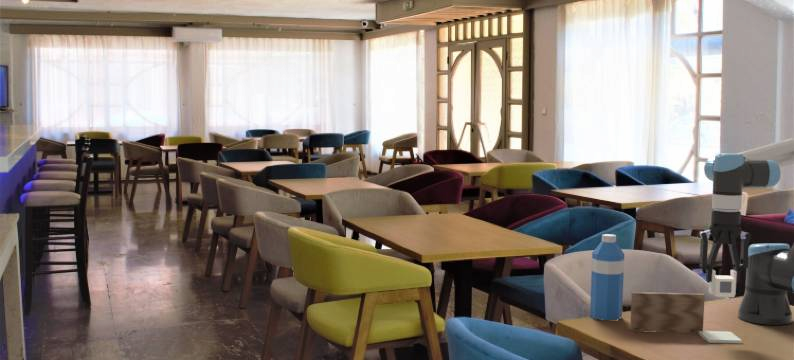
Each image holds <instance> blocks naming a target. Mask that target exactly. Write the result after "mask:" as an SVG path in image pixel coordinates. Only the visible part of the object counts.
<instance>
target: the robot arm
mask: <svg viewBox="0 0 794 360" xmlns="http://www.w3.org/2000/svg"><path fill="white" fill-rule="evenodd" d="M792 165H794V137H791V138H788V139H783V140H780V141H777V142H772V143H770V144H765V145H762V146H758V147H755V148H751V149H747V150H744V151H741V152H737V153H736V152H732V153H731V152H728V153H727V152H719V153H717V154H715V156H711V157H708V159H707V160H706V161H705V163H704V167H703V169H704V171H703V172H704V175H705V177H706V178H707V179H708V180H709V181H712V199H711V201H712V202H711V208H713V209H712V210H711V217H710V218H711V219H710V226H709V228H708V230H704V231H702V230H701V231H699V233H698V235H699V238H700V247H699V248H700V249H699V267H701V268H703V269H705V270H706V271H705V281H706V282H708V293H709V294H710V295H712V296H714V293H715V275H717V274H716V270H714V266H715V264H716V262H717V261H716V260H717V257H718V254H719V251H720V248H721V247H722V245H724V244H727V245H728V249H729V253H730V257H731V258H730V259H731V263H732V267H733V269H730V275H729V276H730V277H732V278H734V279H735V296H736V291H737V290H736V289H737V283H740V280H741V272H742V271H744V270H745V289H744V295H743V296H742V299H741V301H740V304H739V306H738V309H737V317H738V319H741V320H743V321H744V322H749V323H753V324H758V325H759V324H760V325H766V326H767V325H769V326H782V325H783V326H785V325H790V324H792V322H793V312H792V309H791V305H790V302H789V301H790V300H789V299H788V292H789V293H792V294H794V243H792V245H791V246H790V245H789V244H788V243H774V242H773V243H752V244H750V245H749V242H750V240H751V238H752V234H751V233H749V232H747V231H743V229H742V228H741V218H742V212H741V211H740V210H741V209H742V199H743V188H744V189H745V188H762V189H763V188H764V189H766V188H768V187H769V188H771V187H775V186H776V185H777V184H779V181H780V180H781V173H782V172H781V168H783V167H788V166H792ZM710 236H711V237H712V238H713V239H712V243H711V245H712V246H711V249H710V251H709V252H710V253H709V255H708V250H709V249H708V247H709V240H708V239H710ZM739 237H740V240H741V241H740V258H739V254H738V253H739V252H738V249H737V247H738V246H737V239H738V238H739Z"/></svg>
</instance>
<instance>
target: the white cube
mask: <svg viewBox="0 0 794 360" xmlns="http://www.w3.org/2000/svg"><path fill="white" fill-rule="evenodd" d="M713 296H714V297H715V298H735V296H736V295H735V279H734V278H732V277H730V275H721V274H720V275H719V274H718V275H717V274H715V293H714V295H713Z"/></svg>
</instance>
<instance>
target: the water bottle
mask: <svg viewBox="0 0 794 360" xmlns="http://www.w3.org/2000/svg"><path fill="white" fill-rule="evenodd" d="M591 255H592V256H591V279H590V283H591V284H590V301H589V303H590V306H589V316H590V318H592V317H594V318H596V319H595V320H597V319H603V320H617V319H619V318H620V317H622V318H623V300H624V299H623V298H624V295H623V294H624V278H625V277H624V275H625V273H624V272H625V253H624V251H623V250H622V248H621V247H620V246H619V244H618V243H617V235H616V234H611V233H605V234H601V241H600V243H599V244H598V245H597V246H596V247H595V249H594V250H592V253H591ZM594 318H593V319H594ZM603 320H602V321H603Z"/></svg>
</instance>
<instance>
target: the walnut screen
mask: <svg viewBox="0 0 794 360" xmlns="http://www.w3.org/2000/svg"><path fill="white" fill-rule="evenodd" d="M630 303H631V304H630V321H629V322H630V327H629V329H631V330H630V332H634V331H635V332H644V331H656V332H655V333H676V334H677V333H683V334H687V333H688V334H692V335H699V331H704V318H705V317H704V314H705V294H704V293H699V292H698V293H695V292H694V293H693V292H692V293H689V292H688V293H687V292H653V291H652V292H649V291H647V292H646V291H631V301H630ZM635 332H634V333H635ZM644 333H645V332H644Z"/></svg>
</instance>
